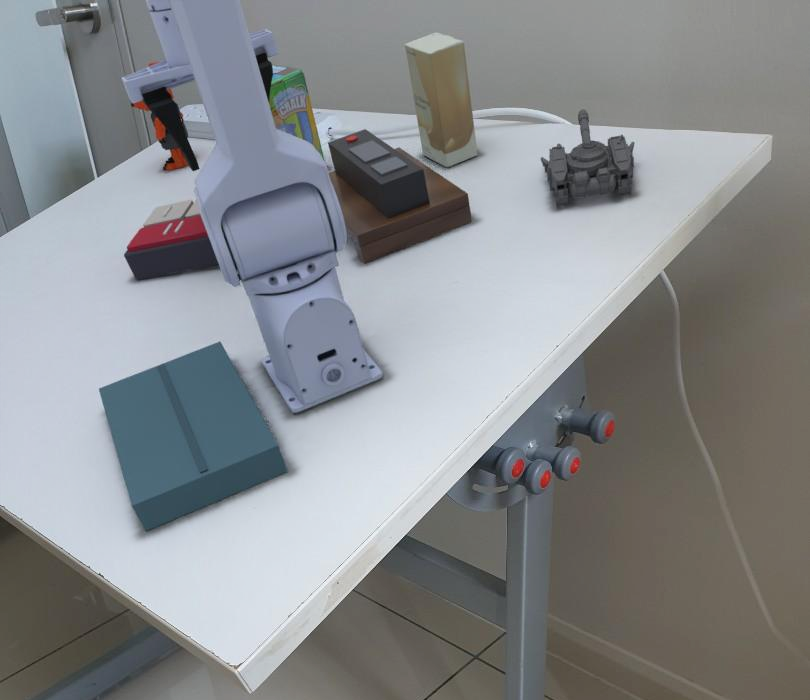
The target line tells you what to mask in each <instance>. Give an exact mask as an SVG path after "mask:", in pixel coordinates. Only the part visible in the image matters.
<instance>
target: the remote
mask: <svg viewBox="0 0 810 700" xmlns="http://www.w3.org/2000/svg"><path fill="white" fill-rule="evenodd" d="M327 145H328V148H329V153H330V158H331V161H332V165H333V169H334V171H335V173H336V174H337V175H338V176H339V177H340V178H342V179H343V180H344V181H345V182H346V183H347V184H349V185H350V186H351V187H352V188H353V189H355V190H356V191H357V192H358V193H359V194H360V195H362V196H363V197H364V198H365V199H366V200H367V201H369V202H370V203H371V204H372V205H373V206H375V207H376V208H377V209H378V210H379V211H380V212H382V213H383V214H384V215H385V216H386V217H387V218H391V217H394V216H397V215H399V214H402V213H405V212H407V211H410V210H412V209H415V208H418V207H420V206H423V205H426V204H428V203H430V202H429V197H428V191H427V186H426V180H425V175H424V169H423V168H421V167H420V166H418V165H417V164H415V163H414V162H413V161H411V160H410V159H408V158H407V157H405V156H404V155H402V154H401V153H399V152H398V151H397V150H395V149H396V148H394V147H392V146H391V145H390V144H388V143H387V142H385V141H384V140H382V139H380V138H379V136H376V135H375V134H373V133H372V132H370V131H369V130H367V129H366V128H364V129H362V130H359V131H356V132H354V133H353V132H352V133H351V134H347V135H345V136H341V137H339V138H336V139H334V140H331V141H328V142H327Z"/></svg>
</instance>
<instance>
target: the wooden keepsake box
mask: <svg viewBox="0 0 810 700" xmlns="http://www.w3.org/2000/svg"><path fill="white" fill-rule="evenodd" d="M394 149H395V150H397V151H398V152H399V153H401V154H402V155H404V156H405V157H407V158H408V159H410V160H411V161H413V162H414V163H415V164H417V165H418V166H420V167H421V168H423V169H424V175H425V180H426V186H427V191H428V197H429V202H430V203H428V204H426V205H423V206H420V207H418V208H415V209H412V210H410V211H407V212H405V213H402V214H399V215H397V216H394V217H391V218H387V217H386V216H385V215H384V214H383V213H382V212H380V211H379V210H378V209H377V208H376V207H375V206H373V205H372V204H371V203H370V202H369V201H367V200H366V199H365V198H364V197H363V196H362V195H360V194H359V193H358V192H357V191H356V190H355V189H353V188H352V187H351V186H350V185H349V184H347V183H346V182H345V181H344V180H343V179H342V178H340V177H339V176H338V175H337V174H336V173H335V170H333V171H330V172H328V173H329V176H330V180H331V182H332V185H333V187H334V190H335V192H336V195H337V198H338V201H339V204H340V207H341V211H342V214H343V218H344V222H345V227H346V232H347V236H349V238H351V239H352V240H353V241H354V244H355V248H356V252H357V257H358V259H359V260H360V261H361V263H363V264H367V263H370V262H372V261H375V260H377V259H380V258H383V257H385V256H388V255H390V254H393V253H396V252H398V251H401V250H403V249H406V248H409V247H412V246H414V245H417V244H419V243H422V242H424V241H427V240H429V239H432V238H435V237H437V236H440V235H443V234H445V233H447V232H450V231H452V230H453V231H454V230H456V229H459V228H461V227H463V226H466V225H469V224H471V223H472V222H473V219H472V213H471V206H470V199H469V194H468V192H467V191H465V190H463V189H462V188H460V187H459V186H457V185H456V184H455V183H453V182H451V181H450V180H449V179H447V178H446V177H444V176H443V175H441V174H440V173H438V172H436V171H435V170H434V169H433V168H431V167H429V166H428V165H426V164H425V163H423V162H422V161H421V160H419V159H417V158H416V157H414V156H413V155H411V154H410V153H409V152H407V151H406V150H404V149H403V148H401V147H396V148H394Z"/></svg>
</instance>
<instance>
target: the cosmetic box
mask: <svg viewBox="0 0 810 700" xmlns="http://www.w3.org/2000/svg"><path fill="white" fill-rule="evenodd" d="M404 49H405V54H406V60H407V67H408V72H409V73H408V74H409V78H410V84H411V91H412V96H413V102H414V107H415V114H416V120H417V125H418V133H419V139H420V145H421V152H422V154H423V156H424V157H427V158H428V159H430V160H432V161H434V162H435V163H437V164H439V165H442V166H443V167H445V168H449V167H452V166H454V165H457V164H460V163H461V162H465V161H467V160H469V159H472V158H474V157H477V156H478V146H477V138H476V129H475V122H474V115H473V114H474V113H473V105H472V97H471V89H470V81H469V73H468V65H467V56H466V48H465V42H464V40H462V39H458V38H455V37H453V36H451V35H445V34H444V33H441V32H438V31H437V32H434V33H430V34H429V35H428V34H427V35H425V36H423V37H419V38H417V39H414V40H412V41H410V42H406V43H404Z"/></svg>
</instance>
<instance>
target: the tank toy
mask: <svg viewBox="0 0 810 700" xmlns="http://www.w3.org/2000/svg"><path fill="white" fill-rule="evenodd" d="M577 121H578V124H579V130H580V136H581V143H579V144H578V145H577V146H574V147H573V148H572V149H571V151H570V152H569V153H567V152H566V148H565V146H563V145H562V144H561V143H557V144H556V146H551V148H549V150H548V151H549V160H548V159H547V158H544V156H541V157H540V162H541V164H542V167H543V168H544V173H546V176H547V182H549V191H550V192H552V197H554V204H555V206H556V207H557V206H565V205H568V204H569V196H571V197H573V199H576V198H578V199H584V198H586V197H587V196H595V195H599V194H600V195H603V196H604V195H608V194H609V193H612V192H614V191H615V190H616V192H617V196H618V197H621V196H627V195H632V183H633V179H632V178H634V168H635V159H634V158H635V157H634V156H633V155H634V154H633V153H634V152H633V151H634V148H635V142H634V141H631V142H630V144H629V145H628V143H627V140H626V137H625V136H624V134H620V135H615V136H611V137H609V138H607V145H605V143H603V142H601V141H600V140H592V138H591V130H590V124H589V122H590V117H589V113H588V111H587V110H586V109H580V110H579V112H578V114H577Z"/></svg>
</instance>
